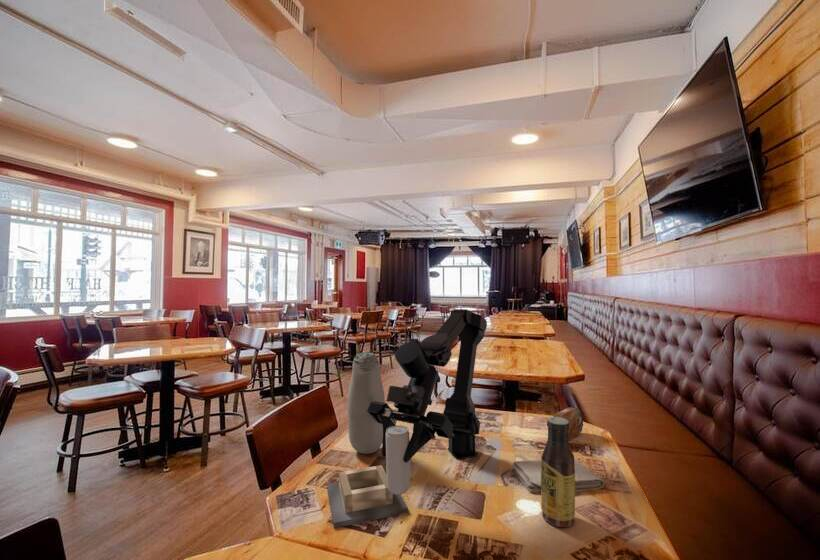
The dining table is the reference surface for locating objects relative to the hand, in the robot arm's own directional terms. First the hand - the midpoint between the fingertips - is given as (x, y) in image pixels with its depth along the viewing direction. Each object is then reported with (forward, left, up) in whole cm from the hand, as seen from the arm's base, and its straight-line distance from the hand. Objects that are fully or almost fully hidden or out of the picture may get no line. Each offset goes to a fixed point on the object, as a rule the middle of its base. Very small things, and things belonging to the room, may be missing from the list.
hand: (393, 458), depth 75 cm
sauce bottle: (-31, +10, -12) cm, 35 cm away
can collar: (+4, -9, -12) cm, 16 cm away
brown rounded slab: (-60, -21, -13) cm, 65 cm away
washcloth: (-41, -3, -13) cm, 43 cm away
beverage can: (-1, -1, -7) cm, 7 cm away
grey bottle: (-1, -33, -12) cm, 35 cm away
